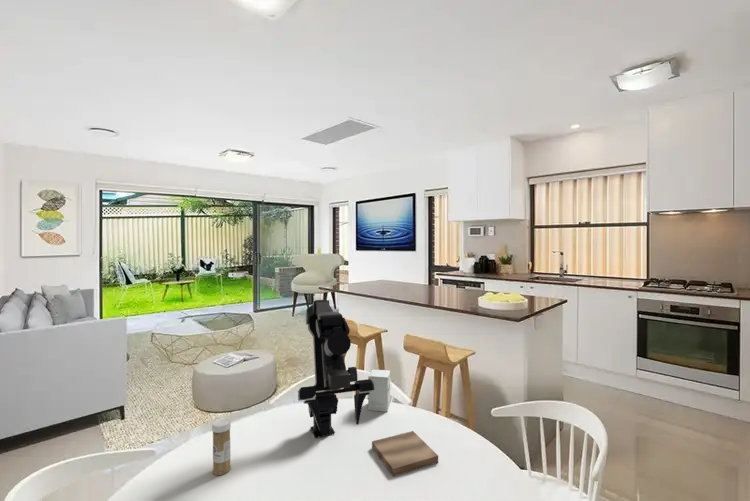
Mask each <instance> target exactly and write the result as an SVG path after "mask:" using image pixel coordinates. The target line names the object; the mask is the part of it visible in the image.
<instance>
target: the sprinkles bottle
mask: <svg viewBox="0 0 750 501" xmlns="http://www.w3.org/2000/svg"><path fill="white" fill-rule="evenodd" d="M211 431H212V460H213V461H212V463H213V464H212V465H213V467H212V473H213V474H214V475H215V476H222V475H225V474H227V473H228V472H230V470H231V469H232V468H231V456H232V455H231V419H229V418H228V417H222V418H217V419H215V420H214V421H213V422H212V423H211Z"/></svg>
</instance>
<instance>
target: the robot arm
mask: <svg viewBox="0 0 750 501" xmlns="http://www.w3.org/2000/svg"><path fill="white" fill-rule="evenodd" d="M330 305H331V304H330V300H328V299H315V300H313V301H312V304H311V305H310V306H309V307H308V308H306V310H305V325H306V326H307V329H308V332H309V333H310V335H311V336H312V339H313V340H312V341H313V359H314V360H313V361H314V379H315V380H314V385H310V386H302V387H300V388H299V390H298V391H297V401H303V404H305V405H306V404H307V405H308V414H309V418H312V419H313V426H310V430H311V433H312V435H313V438H315V439H317V438H322V437H325V436H330V435H334V434H335V433H336V432H335V430H334V428H333V426H332V415H336V414H337V412H338V404H339V397H338V396H337V395H336V394H342V393H343V394H344V393H353V392H355V394H354V395H353V399H354V400H353V401H354V418H355V425H356V426H357V425H359V423H360V419H361V412H362V408H363V404H364V401H365V399H366V396H368V395H369V394H370V392H369V391H373V390H374V383H373V381H372V380H371V379H368V378H367V379H361V380H358V370H357V367H356V366H350V367H349V366H348V368H346V360H345V355H346V354H347V353H348V352H349V351H350V348H351V346H352V342H351V338H350V337H349V334H350V327H349V324H348V323H347V322H348V321H346V318H345V317H343V314H341V312H337V311H334V310H333V309H332V306H330ZM353 382H354V383H353Z"/></svg>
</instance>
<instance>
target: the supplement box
mask: <svg viewBox="0 0 750 501" xmlns="http://www.w3.org/2000/svg"><path fill="white" fill-rule="evenodd" d="M367 379H371V380H372V381H373V383H374V390H373V391H369V392H370V394H369V395H367V396H368V397H367V400H368V401H367V402H368V403H367V409H368V411H373V412H383V413H385V412H386V413H387V412H388V410H389V408H390V404H391V370H387V369H386V370H385V369H371V371H370V373H369V374H368V376H367Z"/></svg>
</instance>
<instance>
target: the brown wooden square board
mask: <svg viewBox="0 0 750 501" xmlns="http://www.w3.org/2000/svg"><path fill="white" fill-rule="evenodd" d="M371 448H372V450H373V451H374V453H375V454H376V455H377V457H378V458H379V459H380V461H381V463H383V465H384V466H385V467H386V469H387V470H388V471H389V473H390V474H391V475H392V477H395V476H398V475H402V474H405V473H409V472H412V471H415V470H419V469H421V468H422V469H423V468H425V467H429V466H432V465H436V464H438V463H439V455H438V454H437V453H436V452H435V451H434V449H432V448H431V447H430V446H429V445H428V444H427V443H426V442H425V441H424V440H423V439H422V438H421V437H420V436H419V435H418V434H417V433H416V432H414V430H411V431H408V432H404V433H400V434H399V433H398V434H395V435H393V436H387V437H384V438H380V439H376V440H372V441H371Z"/></svg>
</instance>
